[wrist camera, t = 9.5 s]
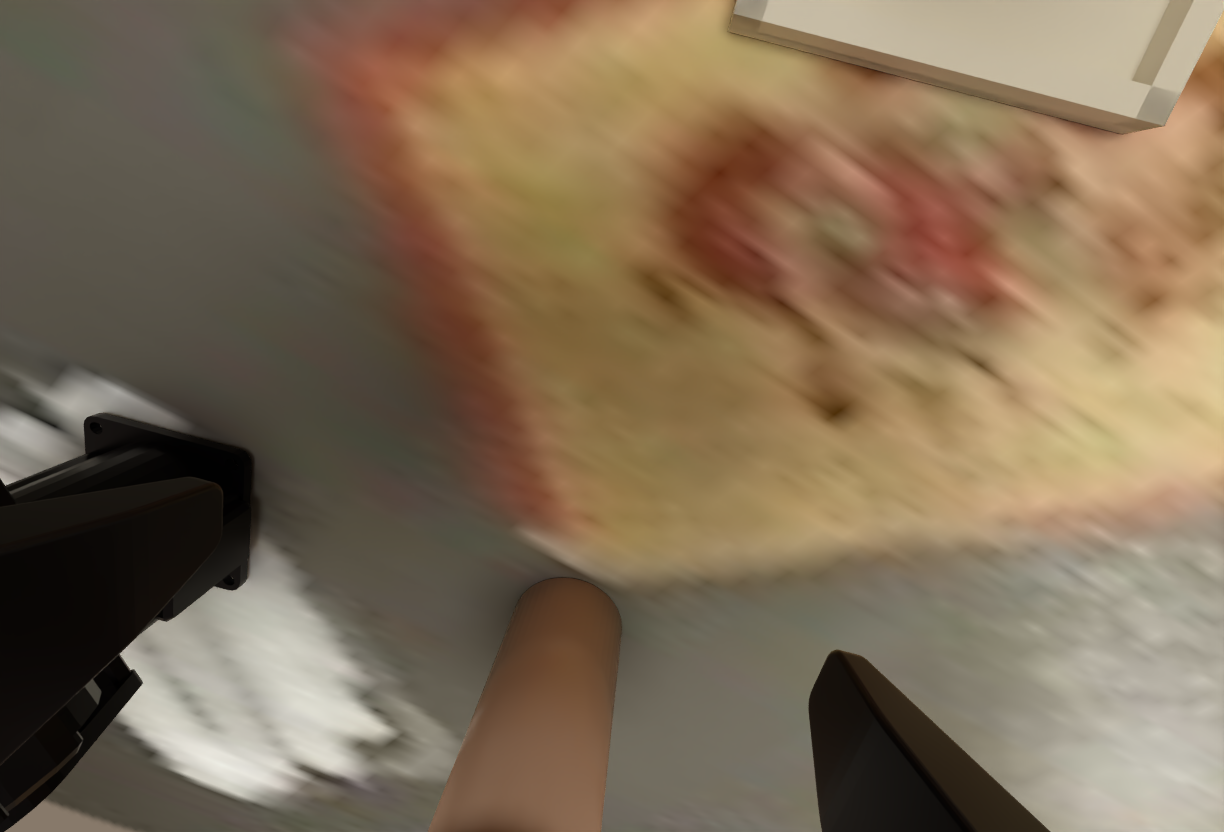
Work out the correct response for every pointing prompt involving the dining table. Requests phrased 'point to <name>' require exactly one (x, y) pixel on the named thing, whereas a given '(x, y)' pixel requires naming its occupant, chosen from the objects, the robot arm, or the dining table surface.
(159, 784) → the dining table surface
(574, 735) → the pepper shaker
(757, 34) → the tray
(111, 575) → the robot arm
